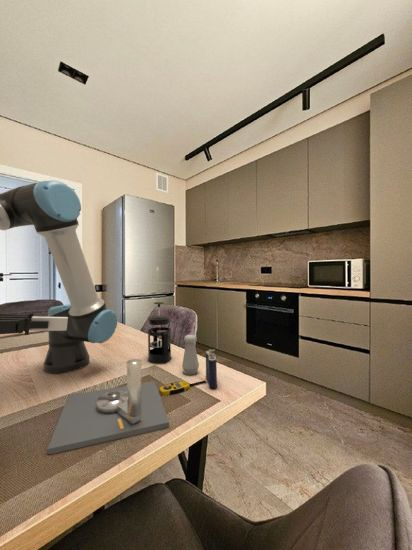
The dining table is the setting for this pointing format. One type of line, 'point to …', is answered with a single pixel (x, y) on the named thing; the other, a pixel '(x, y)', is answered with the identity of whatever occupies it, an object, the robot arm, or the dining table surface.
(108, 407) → the silver faucet
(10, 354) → the dining table surface
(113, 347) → the dining table surface
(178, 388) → the yellow walkie-talkie
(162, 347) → the french press
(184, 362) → the salt shaker
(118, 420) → the plate
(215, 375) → the flask
